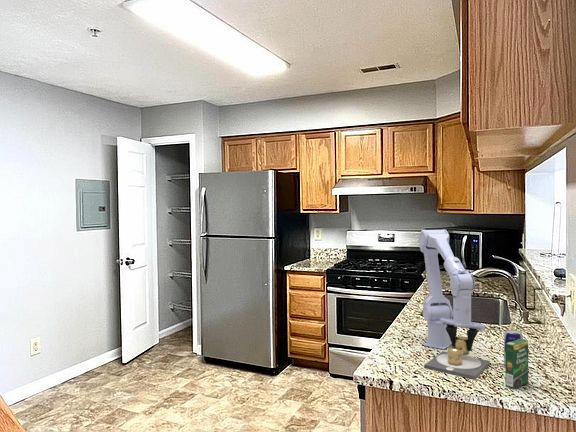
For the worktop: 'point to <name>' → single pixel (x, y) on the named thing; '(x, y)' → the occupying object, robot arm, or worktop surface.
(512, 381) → the green carton
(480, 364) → the kitchen scale
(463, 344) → the tan rounded cylinder
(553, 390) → the worktop surface
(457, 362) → the golden domed cylinder
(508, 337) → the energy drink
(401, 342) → the worktop surface
